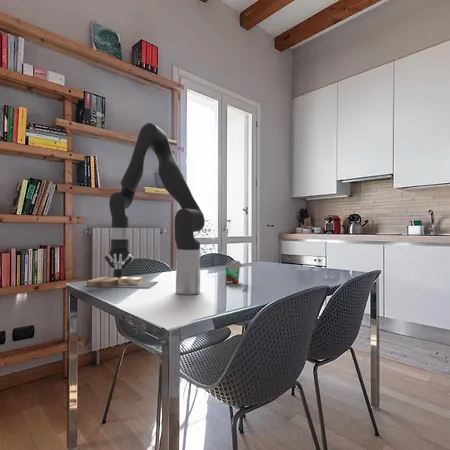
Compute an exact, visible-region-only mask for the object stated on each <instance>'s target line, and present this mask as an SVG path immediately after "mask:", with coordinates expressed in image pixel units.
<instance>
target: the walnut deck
mask: <svg viewBox="0 0 450 450" xmlns="http://www.w3.org/2000/svg"><path fill="white" fill-rule="evenodd" d="M118 279H119V278H117V276H113V277H111V276H98V277H95V278H93V279H89V280H87V281H86V287H100V288H101V287H105V288H116V287H115V286H117V285H118Z"/></svg>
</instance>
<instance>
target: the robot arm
mask: <svg viewBox="0 0 450 450" xmlns="http://www.w3.org/2000/svg"><path fill="white" fill-rule="evenodd" d="M149 149H151V150H152V151H153V152H154V154H155V156H156V158H157V160H158V168H157V169H158V176H159V179H160V180H161V183H162V185H163V187H164V189H165V190H166V192H167V193H168V194H169V195H170V196H171V197H172V198H173V199H174V200H175V201H176V202H177V203H178V205H179V206H180V209H179V210H177V212H176V213H175V216H174V222H173V223H174V242H175V244H176V262H175V263H176V264H175V266H176V267H175V268H176V270H175V272H176V273H175V275H176V276H175V294H178V295H186V296H187V295H189V296H191V295H198V294H199V293H200V291H201V266H200V265H201V243H200V241H199V240H197V239H196V238H195V237H194V233H195V232H200V231H202V230H203V228H204V226H205V223H206V222H205V216H204V213H203V211H202V210H201V208H200V206H199V205H198V203H197V201H196V200H195V197H194V196H193V194H192V191H191V190H190V188H189V185H188V184H187V181H186V179H185V175H184V174H183V172H182V170H181V168H180V166H179V164H178V161H177V160H176V158H175V156H174V153H173V151H172V148H171V145H170V142H169V139H168V135H167V133H166V132H165V131H164V130H163V129H161V128H160V127H159V126H157V124H154V123H152V122H147V123H146V124H144V125H143V126H142V127H141V128H140V131H139V133H138V136H137V139H136V143H135V146H134V149H133V151H132V155H131V159H130V162H129V163H128V166H127V168H126V171H124V175H123V177H122V179H121V181H120V185H121V190H120V191H116V192H113V193H112V194H111V195H110V197H109V200H108V201H109V203H108V205H109V212H110V216H111V232H110V250H109V254H108V255H106V256H104V260H105V261H106V262H107V264H108V265H109V267H111V268H112V269H114V270H115V273H114V275H115V276H114V277H117V278H121V277H124V276H123V275H124V269H126V268H128V266H129V265H130V264H131V263H132V261H133V260H134V259H135V256H133V255H131V254H130V251H129V245H130V244H129V243H130V242H129V239H130V235H129V234H130V233H129V216H128V215H127V214H126V209H128V208H129V207H130V206H131V205H132V203H133V200H134V198H135V194H136V189H137V188H138V185H139V183H140V182H141V179H142V178H143V174H144V170H145V169H144V168H145V158H146V154H147V152H148V150H149ZM126 259H127V260H126Z"/></svg>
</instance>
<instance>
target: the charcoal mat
mask: <svg viewBox="0 0 450 450" xmlns="http://www.w3.org/2000/svg"><path fill="white" fill-rule="evenodd" d="M158 283H159V282H158V281H145V280H143V283H141V284H140V285H117V286H115V287H114V288H119V289H120V288H121V289H122V288H125V289H151V288H152V287H153V286H155V285H156V284H158Z"/></svg>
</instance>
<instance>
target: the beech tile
mask: <svg viewBox="0 0 450 450" xmlns="http://www.w3.org/2000/svg"><path fill="white" fill-rule="evenodd" d="M143 281H144V278H143V277H142V276H122V277H121V278H119V279H118V285H140V284H141V283H143Z"/></svg>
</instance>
